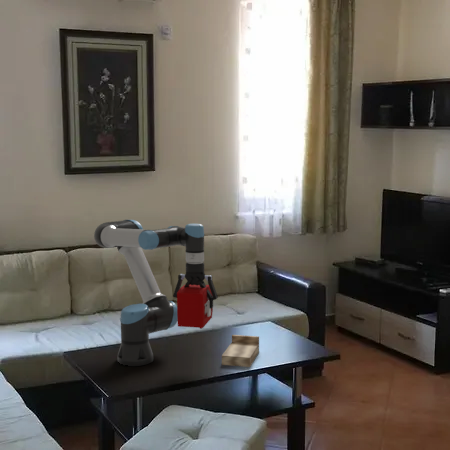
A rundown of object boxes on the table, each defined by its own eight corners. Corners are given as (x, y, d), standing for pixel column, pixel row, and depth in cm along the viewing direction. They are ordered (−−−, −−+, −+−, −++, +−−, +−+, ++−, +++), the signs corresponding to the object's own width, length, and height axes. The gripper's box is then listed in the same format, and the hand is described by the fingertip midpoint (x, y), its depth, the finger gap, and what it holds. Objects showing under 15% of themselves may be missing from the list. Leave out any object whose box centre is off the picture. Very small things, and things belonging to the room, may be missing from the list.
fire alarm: (203, 328, 273) (203, 291, 271) (177, 327, 275) (176, 290, 273) (212, 317, 289) (212, 282, 287) (188, 316, 291) (187, 281, 289)
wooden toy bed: (221, 364, 287) (221, 348, 286) (232, 349, 306) (232, 334, 305) (250, 367, 284) (250, 350, 283) (259, 351, 303) (259, 336, 302)
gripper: (164, 262, 278) (165, 315, 281) (220, 265, 272) (220, 319, 275) (170, 259, 285) (171, 311, 288) (225, 261, 279) (225, 314, 282)
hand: (195, 315), depth 281 cm, fingers closed on fire alarm, 11 cm apart
